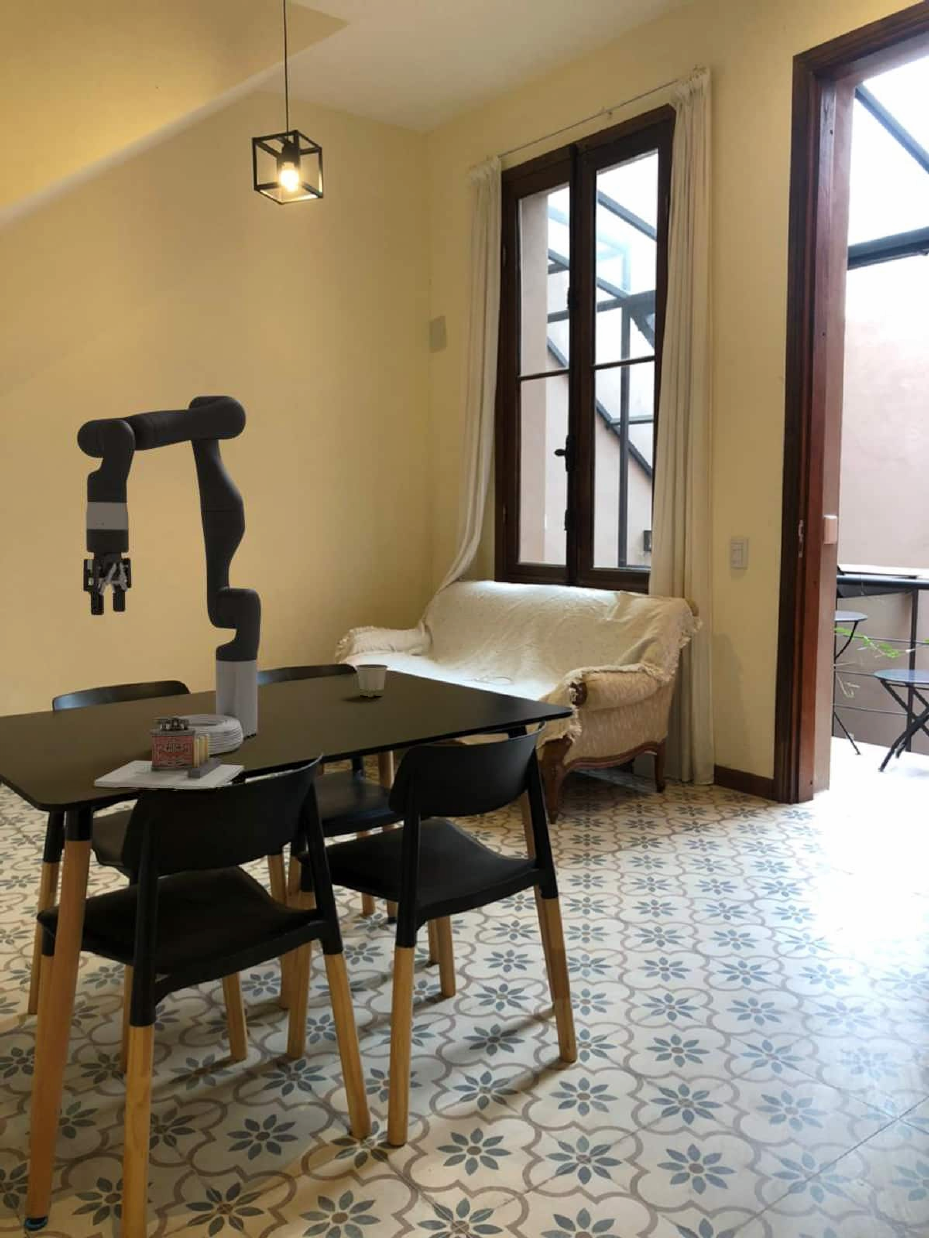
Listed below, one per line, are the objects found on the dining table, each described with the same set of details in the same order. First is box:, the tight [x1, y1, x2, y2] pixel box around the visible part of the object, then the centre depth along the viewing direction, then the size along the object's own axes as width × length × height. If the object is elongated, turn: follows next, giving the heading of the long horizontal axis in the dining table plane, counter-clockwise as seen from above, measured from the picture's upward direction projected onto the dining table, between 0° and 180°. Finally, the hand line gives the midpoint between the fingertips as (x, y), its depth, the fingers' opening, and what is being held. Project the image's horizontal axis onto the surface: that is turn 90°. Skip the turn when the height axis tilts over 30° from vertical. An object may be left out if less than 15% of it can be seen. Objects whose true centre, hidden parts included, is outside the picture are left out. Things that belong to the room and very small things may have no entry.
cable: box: [159, 713, 245, 756], centre depth 206 cm, size 18×18×6 cm
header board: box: [94, 734, 245, 789], centre depth 180 cm, size 16×22×8 cm
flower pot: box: [354, 663, 389, 691], centre depth 276 cm, size 9×9×9 cm
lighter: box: [150, 715, 196, 772], centre depth 182 cm, size 8×3×10 cm, turn 106°
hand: (108, 613), depth 184 cm, fingers open, 8 cm apart
